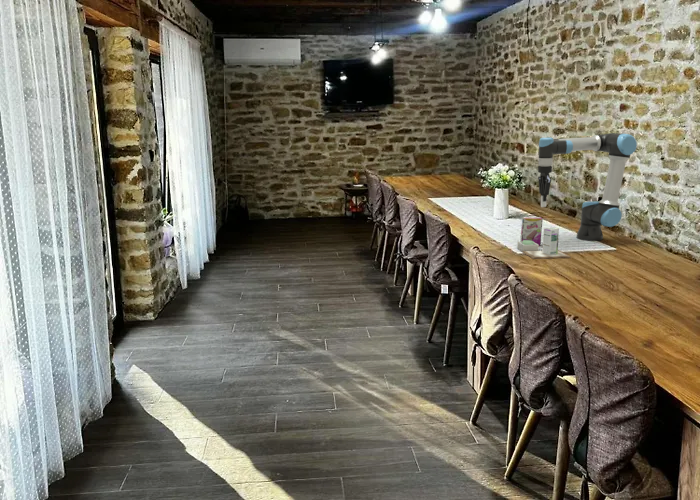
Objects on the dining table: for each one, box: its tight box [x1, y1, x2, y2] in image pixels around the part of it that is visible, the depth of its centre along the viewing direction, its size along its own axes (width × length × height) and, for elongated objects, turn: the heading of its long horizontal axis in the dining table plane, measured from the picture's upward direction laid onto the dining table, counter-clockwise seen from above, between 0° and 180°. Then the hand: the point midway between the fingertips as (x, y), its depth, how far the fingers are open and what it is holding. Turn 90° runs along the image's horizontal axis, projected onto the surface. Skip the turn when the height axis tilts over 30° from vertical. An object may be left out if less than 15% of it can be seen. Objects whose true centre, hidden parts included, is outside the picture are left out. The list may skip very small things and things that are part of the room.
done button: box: [523, 240, 534, 245], centre depth 346 cm, size 6×6×4 cm
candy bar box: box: [519, 216, 543, 246], centre depth 359 cm, size 11×5×16 cm, turn 84°
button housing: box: [516, 241, 540, 253], centre depth 347 cm, size 9×9×4 cm
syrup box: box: [541, 226, 560, 255], centre depth 333 cm, size 6×6×14 cm
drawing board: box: [522, 249, 572, 260], centre depth 335 cm, size 21×15×1 cm
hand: (543, 206), depth 349 cm, fingers closed
